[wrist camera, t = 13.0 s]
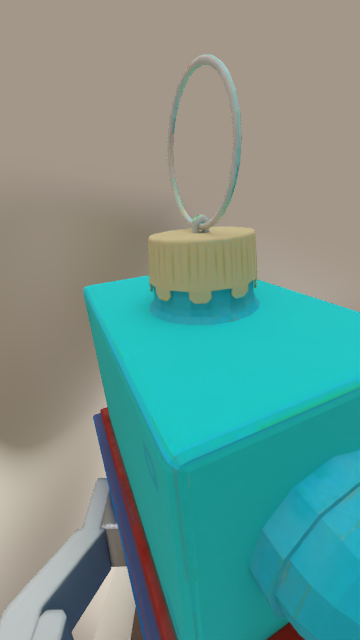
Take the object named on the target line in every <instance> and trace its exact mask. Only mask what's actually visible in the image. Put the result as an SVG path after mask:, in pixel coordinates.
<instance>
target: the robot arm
mask: <svg viewBox="0 0 360 640" xmlns="http://www.w3.org/2000/svg"><path fill="white" fill-rule="evenodd" d="M118 566H127V564H126V560H125V556H124V551H123V547H122V542H121V538H120V533H119V529H118V525H117V520H116V516H115V511H114V507H113V503H112V498H111V494H110V489H109V485H108V480H107V478H98V480H97V481H96V483H95V487H94V489H93V493H92V496H91V499H90V503H89V506H88V510H87V513H86V516H85V520H84V523H83V526H82V529H79V530H78V529H77V530H76V531H75V532H74V533H73V534H72V535H71V537H70V538H69V539H68V540H67V541H66V542H65V543H64V544H63V545H62V546H61V548H60V549H59V550H58V551H57V552H56V553H55V554H54V555H53V556H52V558H51V559H50V560H49V561H48V562H47V563H46V564H45V565H44V566H43V567H42V569H41V570H40V571H39V572H38V573H37V574H36V575H35V576H34V577H33V578H32V580H31V581H30V582H29V583H28V584H27V585H26V586H25V587H24V588H23V589H22V591H21V592H20V593H19V594H18V595H17V596H16V597H15V598H14V599H13V601H12V602H11V603H10V604H9V605H8V606H7V607H6V608H5V611H4V613H3V616H2V618H1V620H0V640H73V636H72V633H71V632H72V630H73V628H74V627H75V625H76V623H77V622H78V621H79V619H80V617H81V616H82V614H83V613H84V611H85V610H86V608H87V606H88V605H89V603H90V602H91V600H92V598H93V597H94V595H95V594H96V592H97V591H98V589H99V587H100V586H101V584H102V582H103V581H104V579H105V578H106V576H107V575H108V573H109V572H110V570H111V567H118Z"/></svg>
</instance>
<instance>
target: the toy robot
mask: <svg viewBox="0 0 360 640" xmlns="http://www.w3.org/2000/svg"><path fill="white" fill-rule="evenodd" d="M202 65H210V66H212V67H213V68H214V69H216V70H217V72H218V73H219V75H220V76H221V78H222V80H223V81H224V84H225V87H226V90H227V92H228V96H229V101H230V107H231V112H232V121H233V155H232V166H231V172H230V178H229V183H228V186H227V189H226V193H225V197H224V199H223V201H222V204H221V206H220V208H219V210H218V211H217V213H216V214H215V215H214V217H213V218H212V219H211V220H209V219H208V218H207V217H206V216H204V215H198V216H196V217H195V218H194V219H193V220H192V219H191V218H190V217H189V215H188V214H187V213H186V211H185V209H184V207H183V204H182V202H181V199H180V196H179V193H178V189H177V184H176V179H175V172H174V158H173V142H174V128H175V120H176V115H177V110H178V105H179V101H180V98H181V95H182V92H183V89H184V87H185V85H186V83H187V81H188V79H189V77H190V76H191V74H192V73H193V72H194V71H195V69H197V68H199V67H200V66H202ZM241 140H242V136H241V114H240V108H239V103H238V98H237V92H236V89H235V86H234V83H233V81H232V78H231V75H230V73H229V72H228V70H227V68H226V67H225V65H224V64H223V62H222V61H220V60H219V59H217V58H216V57H215V56H213V55H200V56H199V57H197V58H196V59H195V60H193V61H192V62H191V63H190V65H189V66H188V67H187V69H186V70H185V72H184V73H183V75H182V78H181V80H180V82H179V84H178V86H177V90H176V93H175V96H174V100H173V105H172V109H171V115H170V123H169V132H168V165H169V173H170V181H171V185H172V191H173V194H174V198H175V201H176V204H177V206H178V209H179V211H180V213H181V215H182V216H183V218H184V219H185V221H186V222H187V223H189V225H191V226H192V228H191V229H181V230H174V231H167V232H162V233H157V234H154V235H151V236H149V239H148V256H149V276H143V277H137V278H131V279H125V280H119V281H113V282H107V283H101V284H96V285H90V286H87V287H85V288H84V290H83V291H84V298H85V303H86V307H87V312H88V317H89V322H90V326H91V331H92V335H93V340H94V345H95V350H96V354H97V359H98V364H99V369H100V373H101V378H102V383H103V387H104V392H105V396H106V402H107V406H108V407H107V408H104V409H101V413H99V414H96V415H94V416H93V419H94V422H95V427H96V432H97V436H98V441H99V445H100V450H101V454H102V458H103V462H104V467H105V471H106V476H107V480H108V485H109V489H110V494H111V498H112V503H113V507H114V511H115V516H116V520H117V525H118V529H119V533H120V538H121V542H122V547H123V551H124V556H125V560H126V564H127V569H128V573H129V578H130V582H131V586H132V591H133V595H134V600H135V604H136V609H137V613H138V617H139V622H140V626H141V631H142V635H143V639H144V640H360V312H357V311H354V310H351V309H348V308H344V307H341V306H338V305H335V304H332V303H329V302H326V301H323V300H320V299H317V298H313V297H310V296H307V295H304V294H301V293H298V292H295V291H292V290H288V289H285V288H282V287H279V286H276V285H273V284H270V283H266V282H264V281H261V280H257V259H256V240H255V231H254V230H253V229H250V228H244V227H212V226H213V225H215V224H216V223H217V222H218V221H219V220H220V218H221V217H222V216H223V214H224V213H225V211H226V209H227V207H228V205H229V203H230V201H231V198H232V195H233V191H234V188H235V185H236V181H237V176H238V170H239V165H240V155H241ZM200 223H202V224H200Z"/></svg>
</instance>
